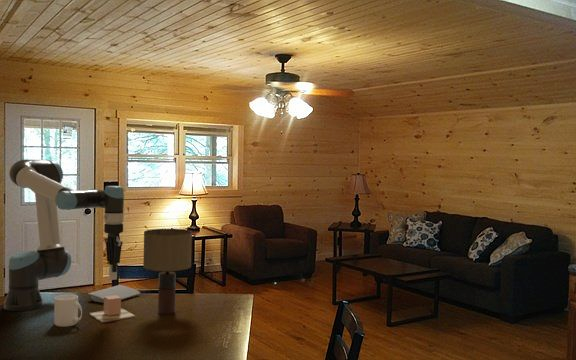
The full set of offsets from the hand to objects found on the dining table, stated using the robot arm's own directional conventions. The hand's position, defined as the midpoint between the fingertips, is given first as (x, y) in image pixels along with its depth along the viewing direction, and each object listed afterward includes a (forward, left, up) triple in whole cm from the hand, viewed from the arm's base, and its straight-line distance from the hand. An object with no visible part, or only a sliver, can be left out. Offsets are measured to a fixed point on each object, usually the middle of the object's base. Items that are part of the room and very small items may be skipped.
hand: (113, 279), depth 225 cm
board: (0, 0, -15) cm, 15 cm away
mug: (+2, -18, -16) cm, 24 cm away
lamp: (+7, +21, -16) cm, 27 cm away
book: (-28, +12, -16) cm, 34 cm away
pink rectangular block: (0, 0, -14) cm, 14 cm away
